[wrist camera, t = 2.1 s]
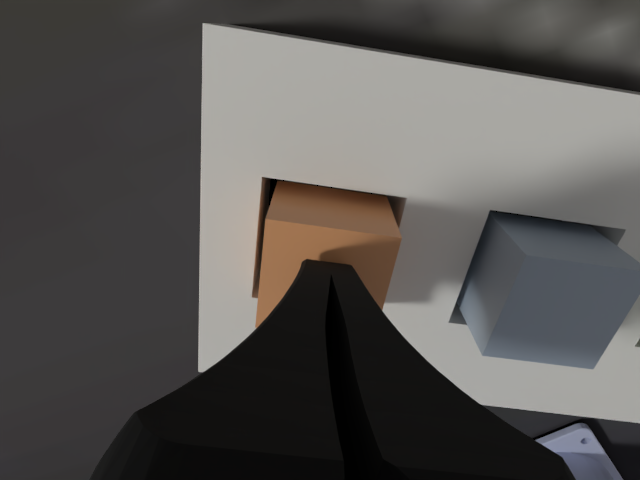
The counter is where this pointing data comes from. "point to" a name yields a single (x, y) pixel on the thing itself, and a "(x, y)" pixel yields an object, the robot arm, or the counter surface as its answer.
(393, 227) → the terracotta button
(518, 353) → the slate blue button
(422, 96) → the button panel
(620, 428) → the counter surface
